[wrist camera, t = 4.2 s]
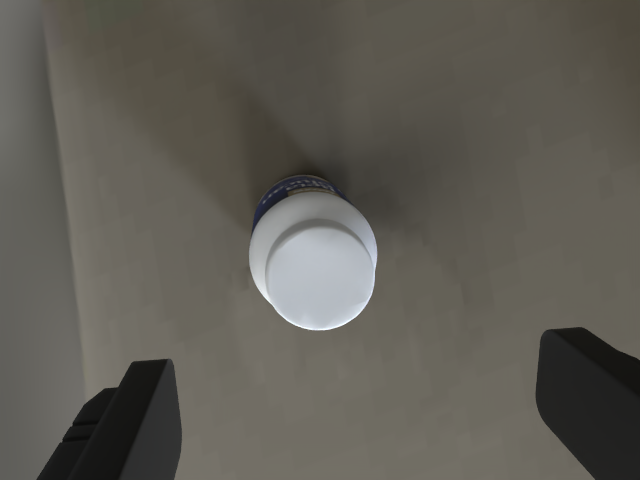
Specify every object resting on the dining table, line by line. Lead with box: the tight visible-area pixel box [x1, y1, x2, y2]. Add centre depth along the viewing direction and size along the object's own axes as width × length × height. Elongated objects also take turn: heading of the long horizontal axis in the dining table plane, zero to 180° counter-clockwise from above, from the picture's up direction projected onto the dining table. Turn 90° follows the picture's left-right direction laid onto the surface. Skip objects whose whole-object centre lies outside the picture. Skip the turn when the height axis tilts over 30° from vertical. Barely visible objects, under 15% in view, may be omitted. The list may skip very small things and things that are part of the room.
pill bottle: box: [249, 175, 377, 330], centre depth 22 cm, size 5×5×10 cm
